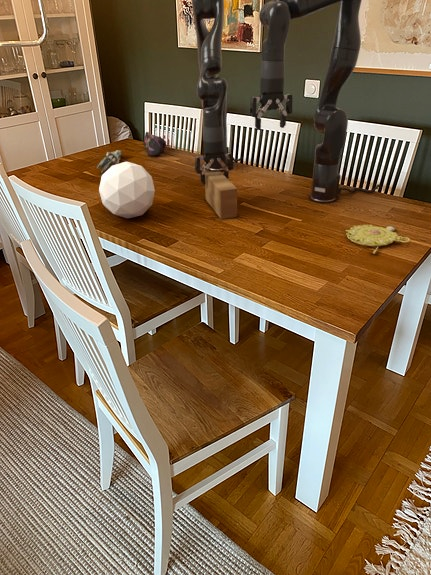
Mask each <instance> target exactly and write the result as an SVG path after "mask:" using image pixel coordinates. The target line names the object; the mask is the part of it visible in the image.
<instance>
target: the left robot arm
mask: <svg viewBox="0 0 431 575" xmlns="http://www.w3.org/2000/svg"><path fill="white" fill-rule="evenodd" d="M191 7H192V8H191V9H192V16H193V21H194V27H195V34H196V47H197V61H198V69H199V77H198V81H197V83H196V96H197V98H198V99H199V100H201V107H202V126H203V129H202V142H203V146H202V147H203V155H201V156H199V155H195V157H194V158H195V159H194V171H195V173H196V174H199V175H200V182H201V183H202V184H203V185H205V184H206V182H205V173H207V171H211V172H218V171H220V172H223V175H224V176H225V177H226V178H227V179H228V180H229V179H230V178H229V177H230V176H229V172H230V171H232V170H234V163H237V162H239V161H242V160H243V157H239V158H238V159H236V158H235V157H234V154H233V153H232V152H230V148H229V146H228V125H227V122H228V121H227V117H228V116H227V115H228V114H227V113H228V112H227V111H228V96H227V95H228V91H229V90H228V89H229V84H228V82H227V80H226V78H224V77H220V76H219V74H220V73H221V72H222V68H223V57H222V56H223V55H222V43H223V42H222V40H223V32H224V31H223V30H224V20H225V19H224V18H225V17H224V16H225V0H191ZM210 19H211V20H212V19H214V20H213V24H212V26H211V28H210V30H209V28H208V26H207V25H206V23H205V20H210ZM218 76H219V77H218ZM203 161H204V163H203V165H202V167H201V163H202V162H203Z"/></svg>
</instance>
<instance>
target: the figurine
mask: <svg viewBox="0 0 431 575" xmlns="http://www.w3.org/2000/svg"><path fill="white" fill-rule="evenodd" d="M122 153H123V152H122V150H115V151H111V152H110V151H107V152H106V153H105V155H106V156H104V157H103V158H102V159H101V161H100V162H99V163H98V165H97V167H96V169H97V170H100V173H101V174H104V173H105V172H106V171H107V170H108V169H109V168H110V167H111V166H113V165H116V164H120V160H121V158H122V157H123V154H122Z"/></svg>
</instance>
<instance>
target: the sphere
mask: <svg viewBox="0 0 431 575" xmlns="http://www.w3.org/2000/svg"><path fill="white" fill-rule="evenodd" d="M98 192H99V196H100V199H101V203H102V205H103V206H104V207H105V208H106V210H108V211H109V212H111V213H112V215H114V216H117V217H121V218H125V219H128V220H129V219H132V218H136V217H140V216H143V215H144V214H145V213H146V212H147V211H148V210H149V209H150V208H151V207H152V206H153V203H154V198H155V192H156V190H155V186H154V181H153V176H152V175H151V174H150V173H149V172H148V171H147V170H146V169H145V168H144V166H142V165H140V164H137V163H134V162H130V161H127V160H126V161H123V162H119V163H118V164H112V165H111V166H110V167H109V168H108V169H107V170H106V171H104V173H102V174H101V178H100V183H99V188H98Z"/></svg>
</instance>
